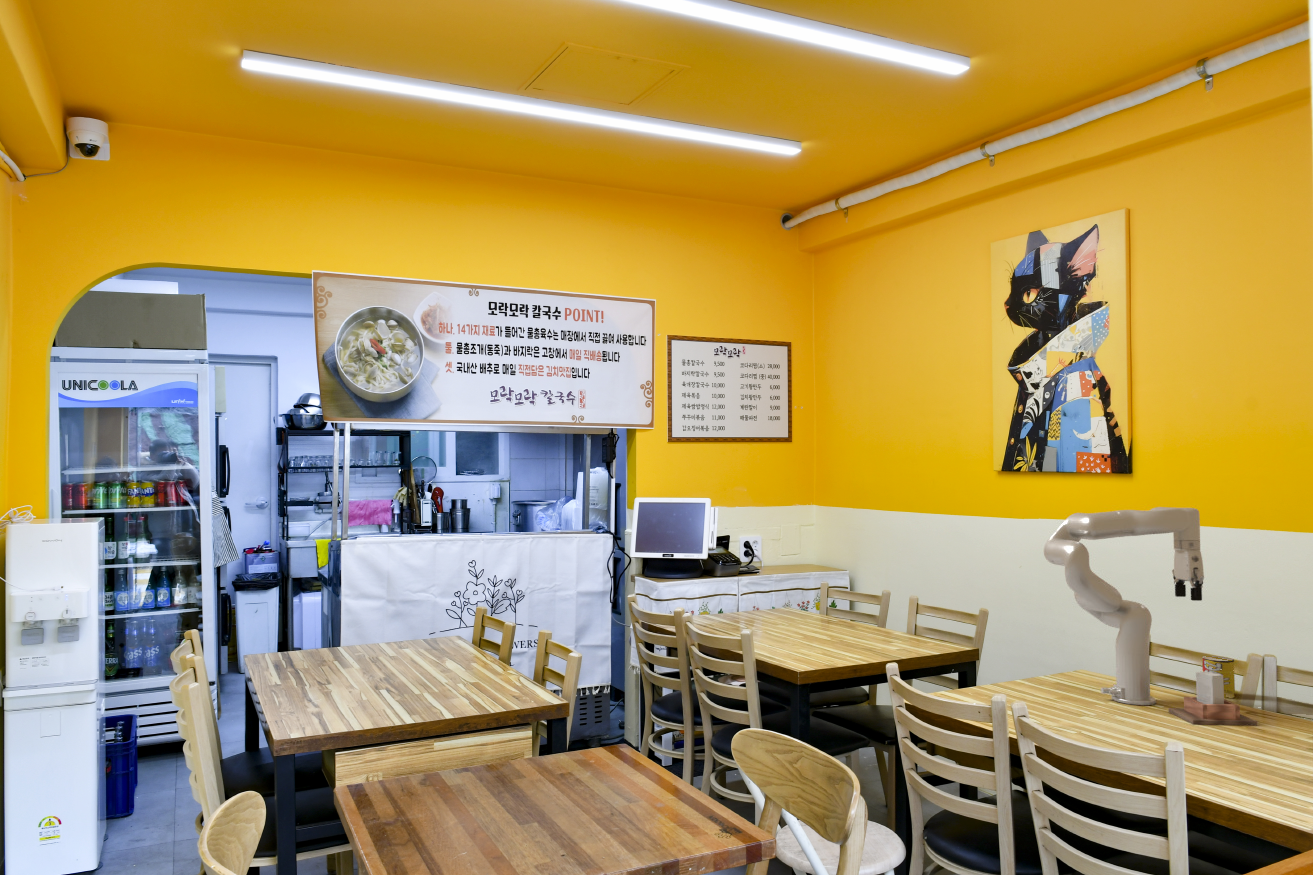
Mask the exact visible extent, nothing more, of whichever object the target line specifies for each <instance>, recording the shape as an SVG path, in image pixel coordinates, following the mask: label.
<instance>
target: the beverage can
mask: <svg viewBox="0 0 1313 875" xmlns="http://www.w3.org/2000/svg"><path fill="white" fill-rule="evenodd" d="M1206 656H1207V655H1205V656H1204V655H1203V656H1202V657H1201V662H1202V663H1201V664H1202V671H1201V672H1211V673H1215V674H1220V675H1223V686H1224V690H1226V692H1227V690H1229V691H1235V692H1236V689H1235V687H1236V686H1235V685H1236V684H1235V682H1236V680H1235V659H1234V658H1230V657H1226V656H1219V655H1217V656H1216V655H1211V656H1212V657H1218V658H1222V659H1227V660H1222V659H1216V658H1212V657H1206ZM1228 660H1232V661H1228ZM1211 667H1213V668H1211ZM1220 669H1222V670H1220ZM1233 670H1234V671H1233ZM1230 672H1231V673H1230ZM1224 692H1225V691H1224ZM1224 699H1230V698H1229V697H1226V694H1224Z"/></svg>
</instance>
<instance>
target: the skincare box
mask: <svg viewBox="0 0 1313 875" xmlns="http://www.w3.org/2000/svg"><path fill="white" fill-rule="evenodd" d="M1195 679H1196V680H1195V684H1196V685H1195V686H1196V697H1197V701H1199V702H1201V703H1203V704H1224V699H1225V698H1224V686H1223V675H1220V674H1215V673H1211V672H1203V671H1196V672H1195Z"/></svg>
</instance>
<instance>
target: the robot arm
mask: <svg viewBox="0 0 1313 875" xmlns="http://www.w3.org/2000/svg"><path fill="white" fill-rule="evenodd" d="M1200 521H1201V519H1200V511H1199V510H1198V509H1197V508H1194V507H1193V508H1192V507H1166V506H1164V507H1163V506H1157V507H1153V508H1151V509H1150V510H1135V509H1123V510H1122V509H1119V510H1113V511H1105V512H1104V511H1102V512H1093V513H1092V512H1090V513H1085V512H1076V513H1073V514H1071V515H1069V516H1068V517H1067V518H1065V520H1064V521H1063V522H1061V524H1060V525H1059V526H1058V528H1057V529H1056V530H1055V531H1054V532H1053V534H1052V535H1051V536H1050V537H1049V539H1048V540H1047V541H1046V543H1045V544H1044V547H1043V555H1044V557H1045V559H1046V560H1047V562H1049V563H1050V564H1053V565H1055V566H1063V567H1064V575H1065V581H1066V584H1067V586H1068V587H1069V589H1071V590H1072V591H1073V594H1074V595H1073V596H1074V600H1075V601H1076V603H1077V604H1078V606H1079V607H1080V608H1081V609H1082V610H1084V611H1086V612H1087V613H1088V614H1090V615H1091V616H1093V617H1094V618H1095V619H1097V620H1098V621H1100V623H1101V622H1102V624H1105V625H1107V626H1109V627H1112V628H1115V629H1119V631H1118V633H1117V636H1116V640H1115V668H1116V669H1115V670H1116V671H1115V672H1116V673H1115V675H1116V676H1115V678H1116V683H1115V684H1113V686H1111V687H1107V686H1106V687H1102V686H1101V688H1100V693H1101V694H1102V695H1103V694H1104V695H1107V694H1108V695H1110V696H1111V700H1113V701H1115V702H1118V703H1120V704H1121V703H1122V704H1128V705H1135V706H1151V705H1155V704H1156V703H1157V700H1156V698H1155V697H1153V696H1151V677H1150V676H1151V674H1150V672H1151V671H1150V633H1151V628H1152V621H1153V620H1152V619H1153V618H1152V614H1151V611H1150V610H1149V608H1147V607H1146V606H1145V605H1144V604H1142V603H1139V602H1136V601H1133V600H1127V599H1123V597H1122V594H1121V593H1120V592H1119V590H1118V589H1117V588H1116V587H1114V586H1113V585H1112V584H1110V583H1108V582H1107V581H1105V580H1104V579H1102V578H1101V577H1099V575H1097V574H1096V573H1094V571H1092V569H1091V567H1090V553H1089V550H1088V547H1086V546H1085V545H1084V544H1083V543H1082V542H1080V541H1081V540H1092V541H1096V540H1097V541H1098V540H1104V539H1114V538H1124V537H1138V536H1139V537H1140V536H1147V535H1161V534H1170V533H1173V537H1172V538H1173V550H1174V557H1173V569H1172V570H1171V573H1172V576H1173V581H1174V582H1173V584H1174V596H1175V597H1176V598H1177V597H1178V598H1181V597H1183V598H1185V597H1186V596H1187V590H1186V588H1187V587H1186V585H1187V584H1185V583H1186V582H1189V584H1190V585H1191V587H1190V600H1191V601H1195V602H1196V601H1203V584H1204V579H1205V574H1204V564H1203V555H1202V553H1201V552H1202V551H1201V523H1200Z"/></svg>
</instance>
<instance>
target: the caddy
mask: <svg viewBox="0 0 1313 875" xmlns="http://www.w3.org/2000/svg"><path fill="white" fill-rule="evenodd" d="M1240 708H1241V707H1240V705H1239V704H1237V703H1235V702H1232V701H1229V700H1227V699H1226V698H1224V704H1203V703H1201V702H1199V701H1197V696H1183V708H1178V707H1177V708H1173V707H1168V708H1167V709H1168V713H1169V714H1171V715H1173V716H1176V717H1177V718H1179V719H1181V720H1182V721H1186V722H1187V723H1189V724H1192V725H1196V726H1197V725H1198V726H1199V725H1202V726H1203V725H1204V726H1205V725H1206V726H1207V725H1209V726H1213V725H1214V726H1220V725H1219V724H1222V725H1221V726H1258V721H1257V720H1255V719H1253V718H1251V717H1248V716H1247V715H1245V714H1241V712H1240V711H1241V710H1240ZM1223 724H1224V725H1223Z"/></svg>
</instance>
